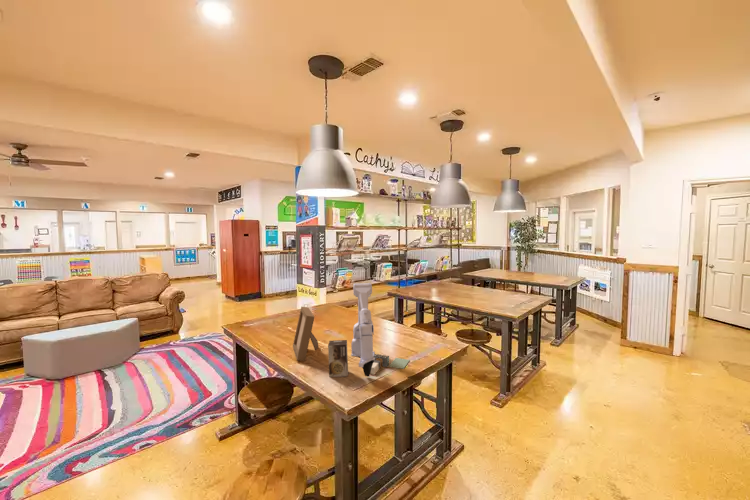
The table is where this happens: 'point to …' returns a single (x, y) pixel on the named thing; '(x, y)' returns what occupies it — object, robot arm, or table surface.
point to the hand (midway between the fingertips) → (367, 375)
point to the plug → (375, 367)
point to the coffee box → (338, 358)
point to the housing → (383, 359)
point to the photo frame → (304, 334)
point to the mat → (399, 363)
